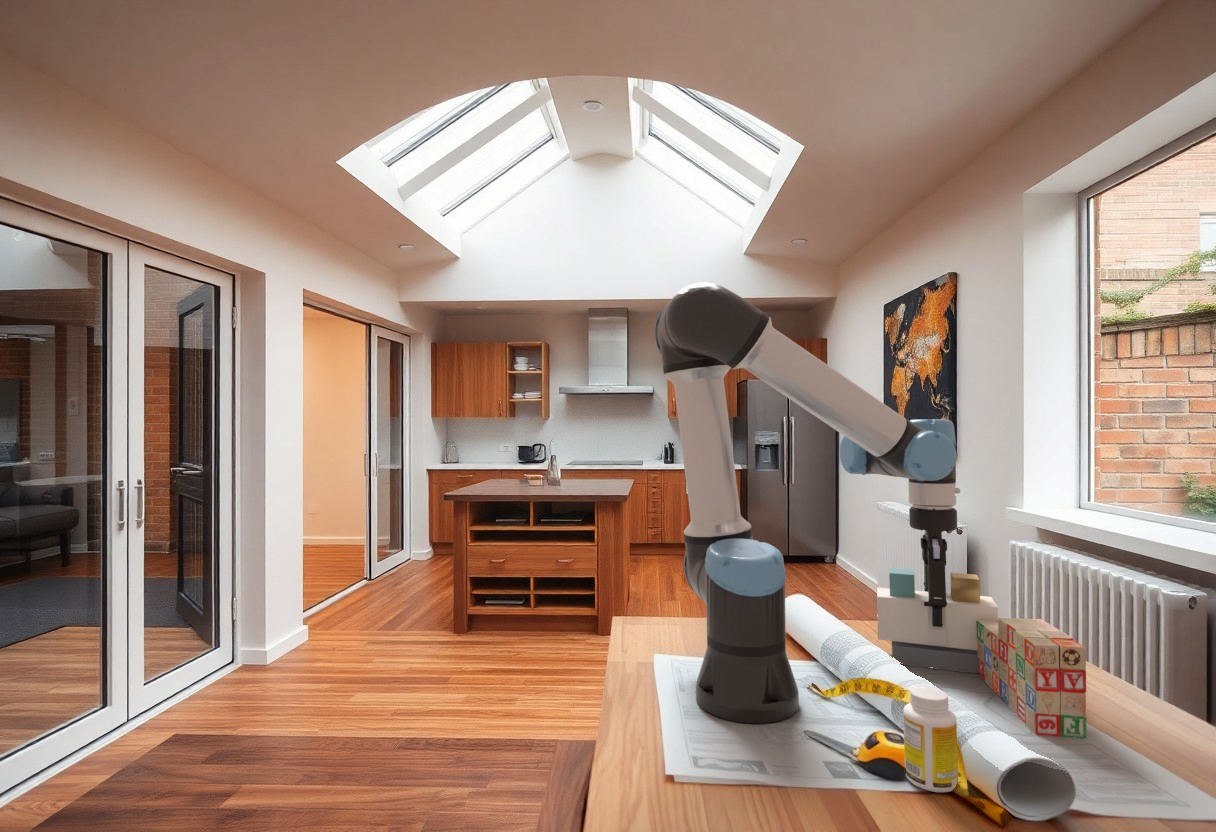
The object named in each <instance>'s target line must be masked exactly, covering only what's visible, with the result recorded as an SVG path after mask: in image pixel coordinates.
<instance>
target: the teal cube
mask: <svg viewBox="0 0 1216 832" xmlns="http://www.w3.org/2000/svg"><path fill="white" fill-rule="evenodd" d="M888 572H889V574H888V579H889V580H888V581H889V588H890V596H899V597H910V598H915V591H916V590H915V589H916V588H915V572H914V570H913V569H900V568H889V569H888Z"/></svg>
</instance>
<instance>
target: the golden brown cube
mask: <svg viewBox="0 0 1216 832" xmlns="http://www.w3.org/2000/svg"><path fill="white" fill-rule="evenodd" d="M980 581H981V580H980V578H979V576H978V575H977V574H972V573H970V574H969V573H959V572H950V593H951V597H952V599H953V601H957V602H969V603H980V596H981V588H980V587H981V585H980V583H981V582H980Z"/></svg>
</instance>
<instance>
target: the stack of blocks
mask: <svg viewBox="0 0 1216 832" xmlns="http://www.w3.org/2000/svg"><path fill="white" fill-rule="evenodd" d="M976 626H977V639H978V657H979V658H978V668H979V674H978V676H980V677H981V679H982V680H983V681H984V682H985V683H986V684H987V686H988V687H991V688H990V689H991V690H992V691H993V690H994V691H995V692H996V693H997V694H996V693H995V692H994V691H993V692H994V693H995V694H996V695H997V696H998V697H999V698H1000V699H1001V698H1002V699H1003V700H1004V701H1005V702H1006V703H1005V702H1004V701H1003V700H1002V699H1001V700H1002V701H1003V702H1004V703H1005V704H1006V705H1007V706H1008V707H1009V708H1010V709H1011V710H1012V711H1013V712H1014V713H1015V715H1016V716H1017V717H1018V718H1019V720H1021V721H1022V722H1023V724H1024V725H1025V726H1026V727H1028V729H1029V730H1030V731H1031V732H1032V733H1033V734H1034V735H1036V736H1045V735H1046V737H1058V738H1059V737H1061V738H1062V737H1063V738H1073V737H1076V738H1075V739H1085V738H1086V739H1087V729H1088V728H1087V720H1088V719H1087V716H1086V715H1087V712H1086V711H1087V710H1086V709H1087V708H1086V707H1087V700H1086V699H1087V698H1086V697H1087V696H1086V695H1087V694H1086V693H1087V670H1086V669H1087V668H1086V664H1087V661H1086V660H1087V659H1086V658H1087V651H1086V650H1087V648H1086V647H1085V646H1083V645H1082V644H1081V643H1080V642H1078V641H1076V640H1075V639H1074V637H1072V636H1070V635H1068V633H1066V632H1064V631H1061V630H1060V629H1058V628H1057V627H1055V626H1053V625H1051V624H1050V623H1048V622H1046V621H1045V620H1043V619H1042V618H1011V617H1010V618H1009V617H998V621H989V620H976Z"/></svg>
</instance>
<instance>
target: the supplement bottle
mask: <svg viewBox="0 0 1216 832" xmlns="http://www.w3.org/2000/svg"><path fill="white" fill-rule="evenodd" d="M909 693H910V694H909V695H910V696H909V703H907V704H905V705H904V707H903V710H902V712H903V713H902V714H903V715H902V716H903V717H902V719H903V748H904V749H903V750H904V751H903V753H904V754H903V755H904V757H905V758H904V757H903V758H904V767H905V766H906V774H905V776H906V778H907V779H908V781H909V782H911V784H913V785H914V786H916V787H918V788H919V789H922V790H925V791H929V792H932V793H933V792H934V793H949V792H952V791H954V790H955V789H954V787H955V785H956V784H957V782H958V783H959V769H958V768H959V766H958V764H959V762H958V761H959V760H958V731H957V729H958V728H957V716H956V715H955V713H954V712H953V711H952V710H951V709H950V708H949V705H950V703H949V696H948V694H947V693H946V692H945V691H943V690H941V689H939V688H935V687H929V686H915V687H912V688H911V689H910V691H909ZM953 789H954V790H953Z"/></svg>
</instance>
